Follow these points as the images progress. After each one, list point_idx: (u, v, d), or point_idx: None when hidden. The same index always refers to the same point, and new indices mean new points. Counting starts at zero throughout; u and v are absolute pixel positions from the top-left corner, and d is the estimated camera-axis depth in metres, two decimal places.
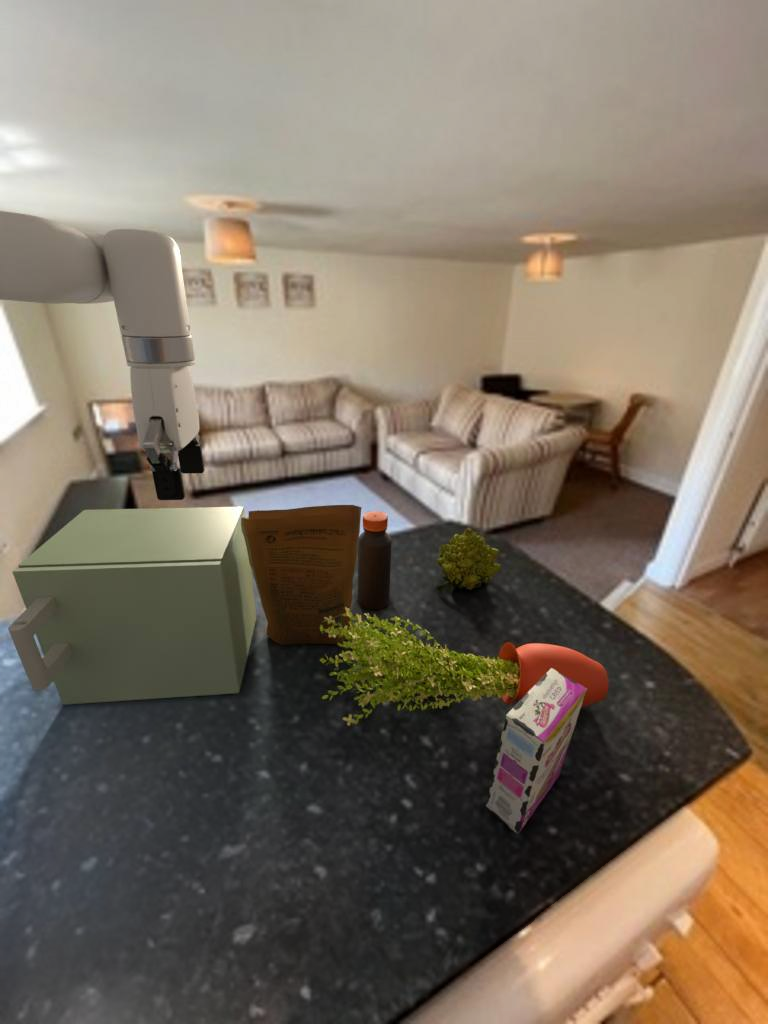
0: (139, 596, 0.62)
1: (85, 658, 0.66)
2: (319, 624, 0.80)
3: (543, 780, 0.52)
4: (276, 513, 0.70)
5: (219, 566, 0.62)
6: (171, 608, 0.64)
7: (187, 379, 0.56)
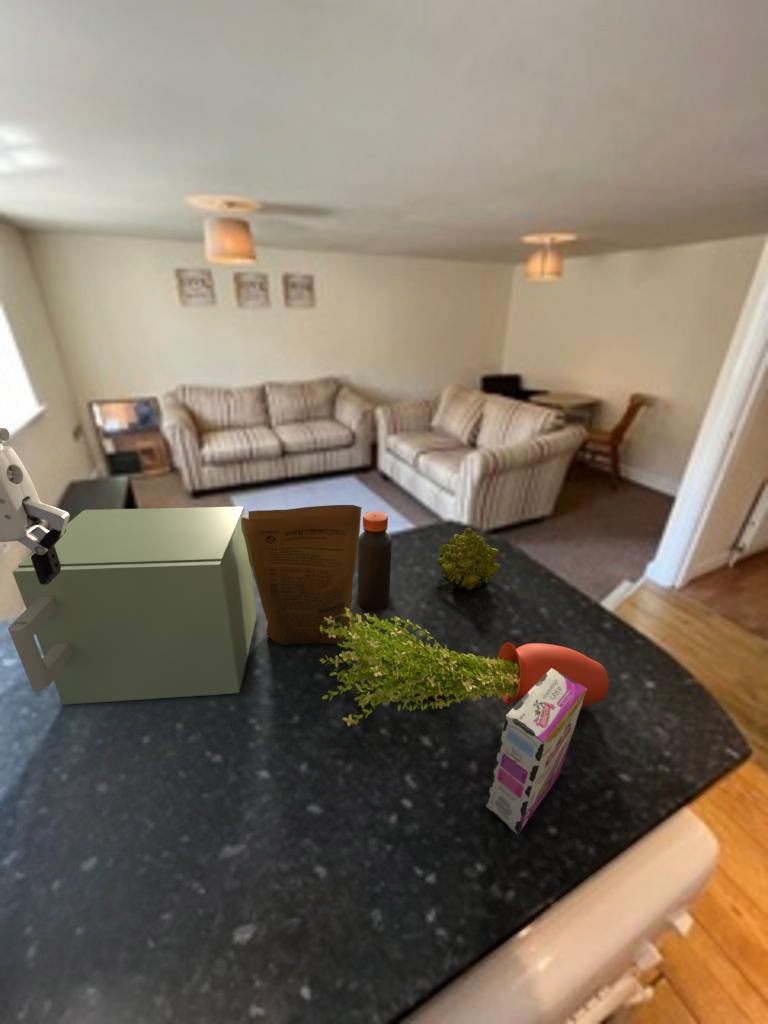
0: (139, 596, 0.62)
1: (85, 658, 0.66)
2: (319, 624, 0.80)
3: (543, 780, 0.52)
4: (276, 513, 0.70)
5: (219, 566, 0.62)
6: (171, 608, 0.64)
7: None
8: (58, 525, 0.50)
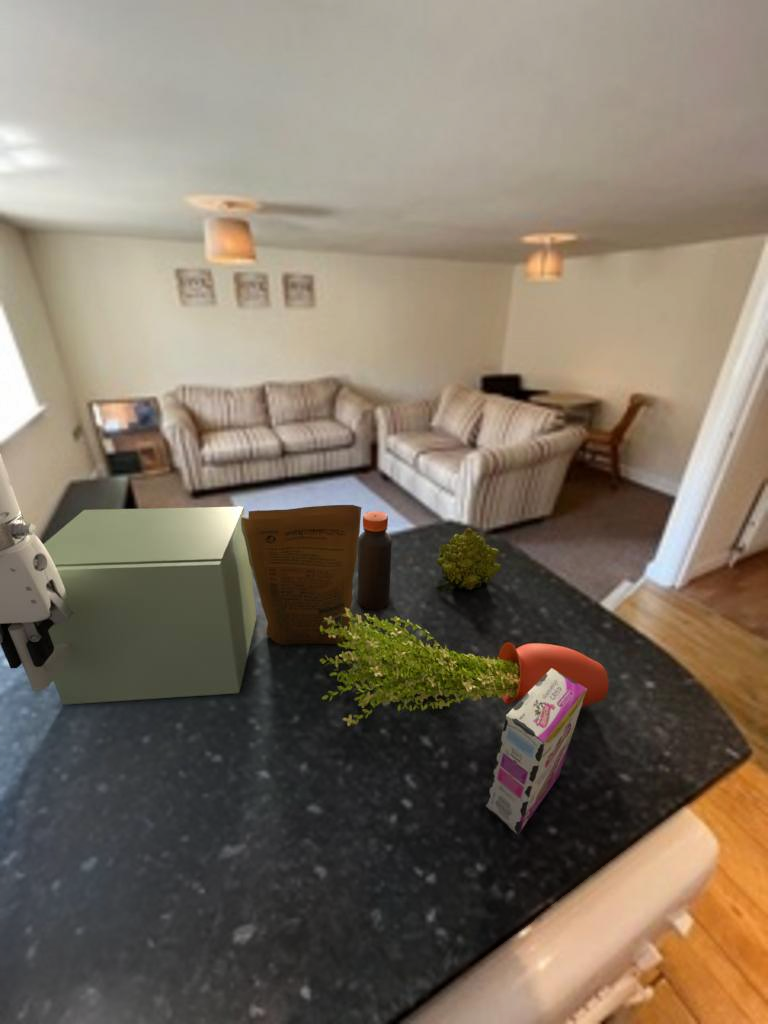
0: (139, 596, 0.62)
1: (85, 658, 0.66)
2: (319, 624, 0.80)
3: (543, 780, 0.52)
4: (276, 513, 0.70)
5: (219, 566, 0.62)
6: (171, 608, 0.64)
7: None
8: (58, 620, 0.55)
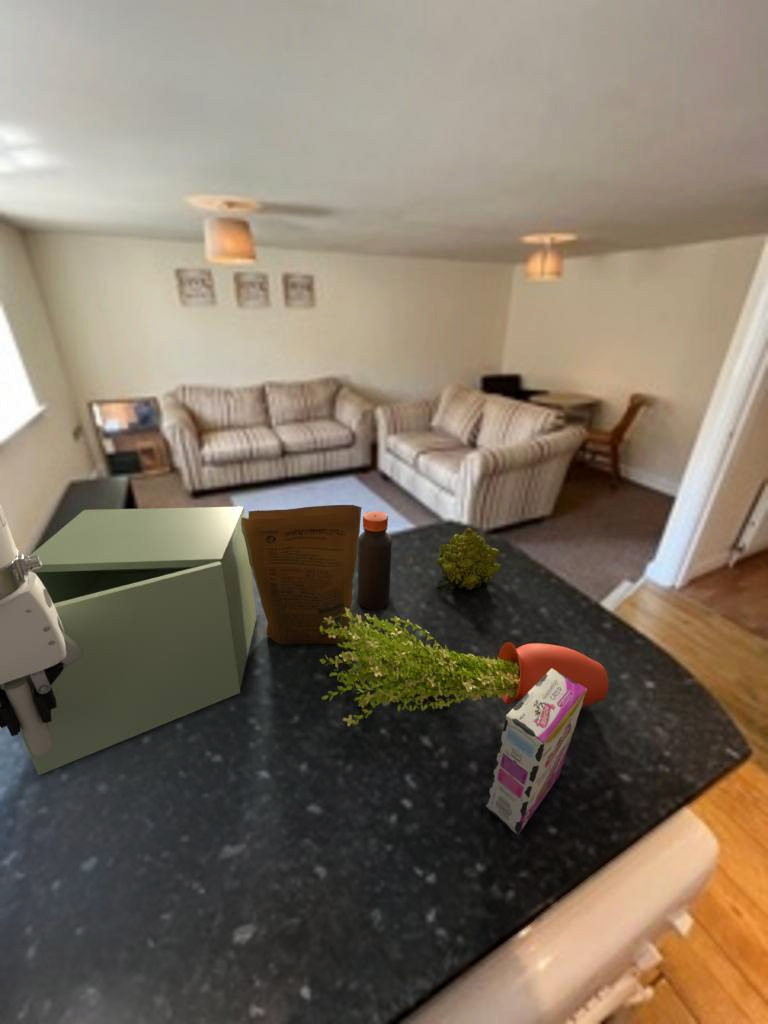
0: (136, 618, 0.58)
1: (70, 708, 0.58)
2: (319, 624, 0.80)
3: (543, 780, 0.52)
4: (276, 513, 0.70)
5: (221, 566, 0.62)
6: (171, 623, 0.61)
7: None
8: (70, 660, 0.49)
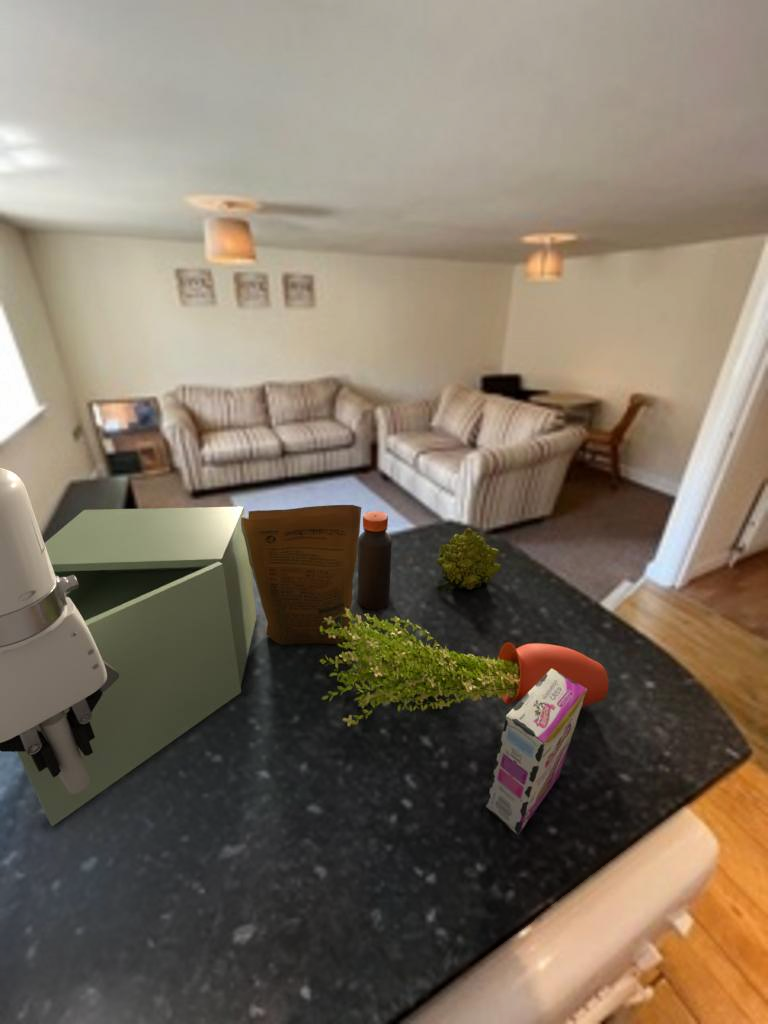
0: (146, 633, 0.56)
1: None
2: (319, 624, 0.80)
3: (543, 781, 0.52)
4: (276, 513, 0.70)
5: (222, 566, 0.62)
6: (179, 632, 0.59)
7: (38, 651, 0.39)
8: (108, 683, 0.47)
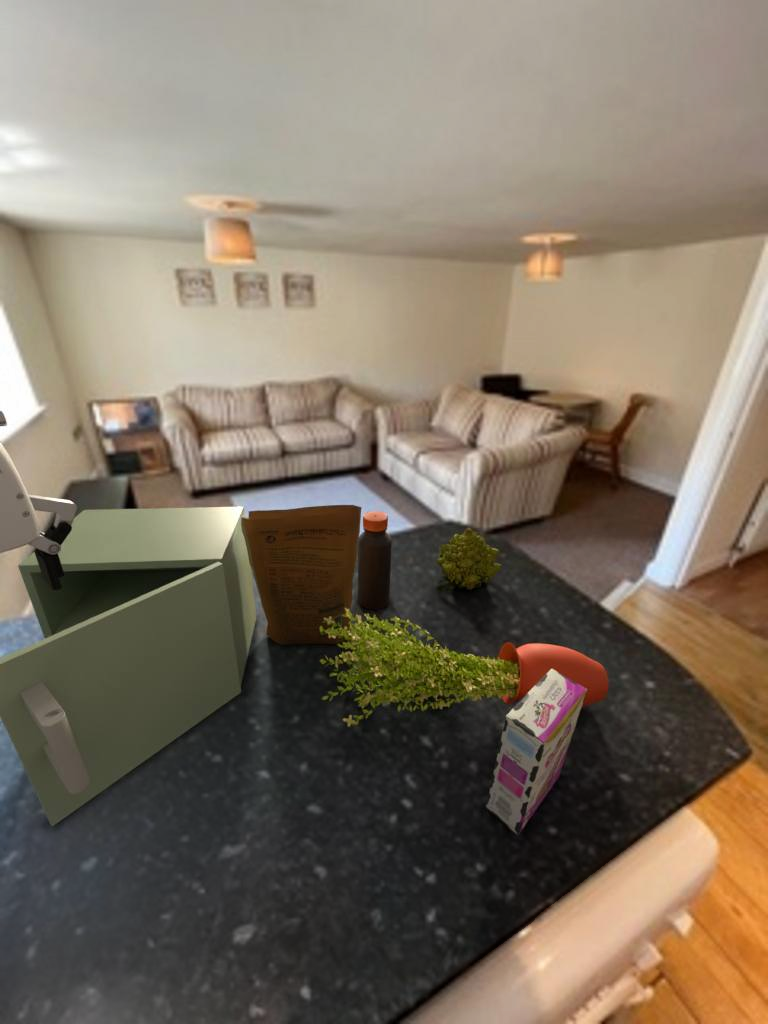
0: (146, 633, 0.56)
1: (83, 743, 0.53)
2: (319, 624, 0.80)
3: (543, 781, 0.52)
4: (276, 513, 0.70)
5: (222, 566, 0.62)
6: (179, 632, 0.59)
7: None
8: (70, 515, 0.46)
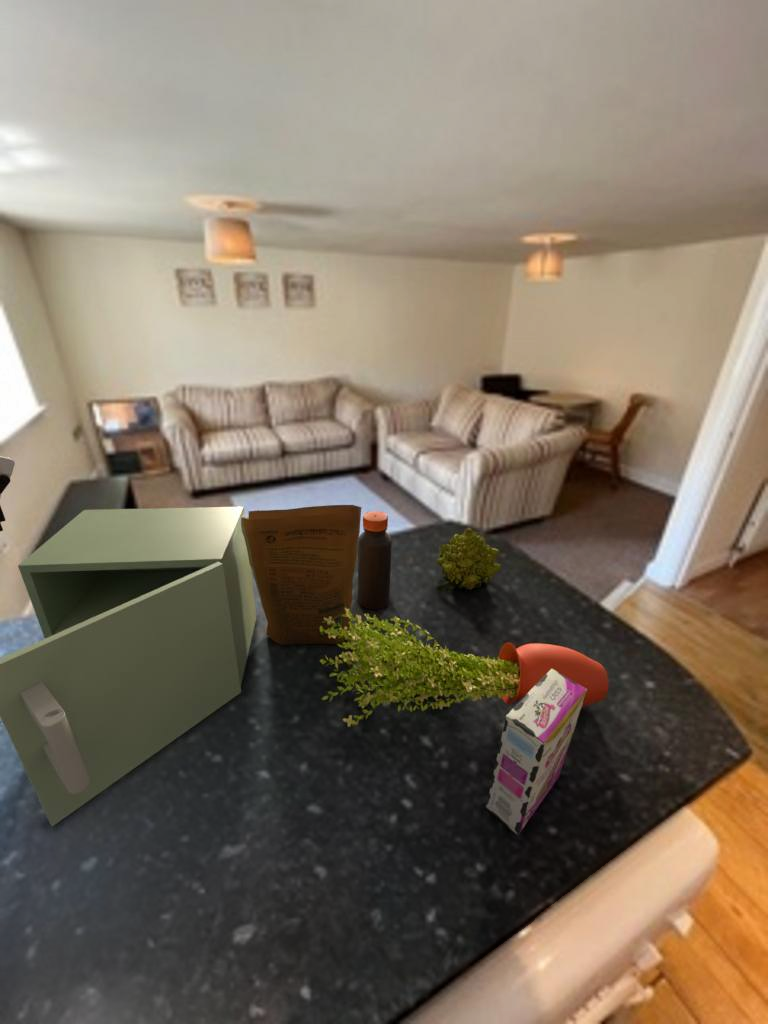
0: (146, 633, 0.56)
1: (83, 743, 0.53)
2: (319, 624, 0.80)
3: (543, 781, 0.52)
4: (276, 513, 0.70)
5: (222, 566, 0.62)
6: (179, 632, 0.59)
7: None
8: (8, 469, 0.55)
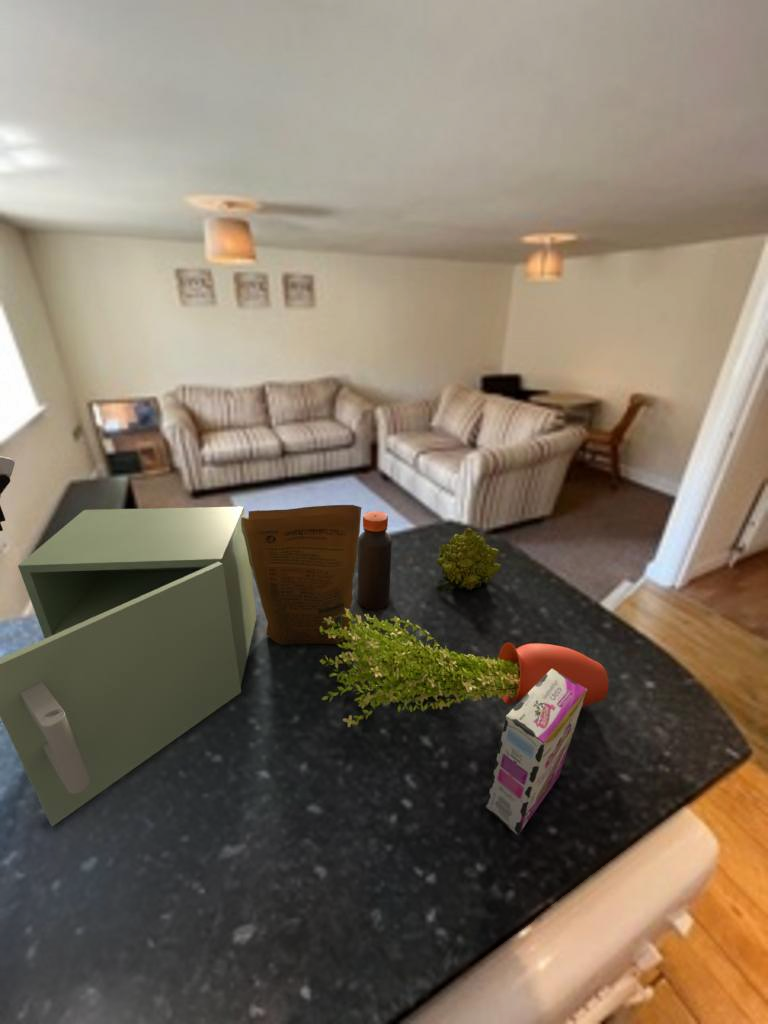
0: (146, 633, 0.56)
1: (83, 743, 0.53)
2: (319, 624, 0.80)
3: (543, 781, 0.52)
4: (276, 513, 0.70)
5: (222, 566, 0.62)
6: (179, 632, 0.59)
7: None
8: (8, 469, 0.55)
